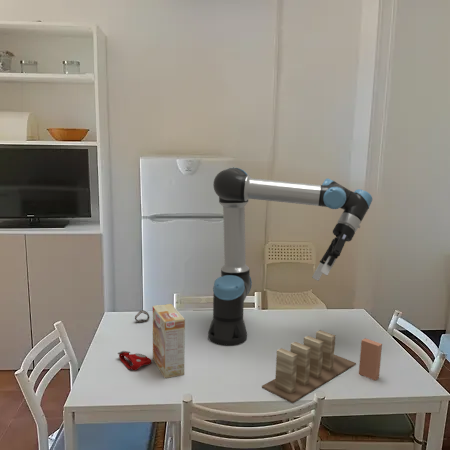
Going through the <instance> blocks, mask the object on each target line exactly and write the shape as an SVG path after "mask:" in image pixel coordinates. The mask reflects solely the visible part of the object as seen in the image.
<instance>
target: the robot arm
mask: <svg viewBox="0 0 450 450" xmlns="http://www.w3.org/2000/svg"><path fill="white" fill-rule="evenodd" d="M213 189H214V192H215V194H216V195H217V196H218V203H219V204H220V205H221V206H222V211H223V212H222V213H223V214H222V215H223V217H222V218H223V247H224V248H223V249H224V250H223V252H224V253H223V254H224V257H223V258H224V265H223V266H221V269H220V276H219V277H217V278H215V280H214V282H213V288H212V290H213V296H212V297H213V301H212V302H213V303H212V305H213V307H212V314H213V315H212V321H211V322H210V325H209V328H208V331H207V335H208V336H207V338H208V340H209V341H210V342H211V343H213V344H215V345H219V346H220V345H221V346H225V347H226V346H227V347H228V346H238V345H241V344H244V343H246V341H247V340H248V331H247V328H246V324H245V320H244V306H245V305H244V304H245V303H244V302H245V300H246V298H247V296H248V295H249V293H250V292H251V290H252V283H253V282H252V277H251V276H250V275H251V273H250V267H249V266H248V265H247V264H246V263H247V261H246V259H247V258H246V257H247V256H246V222H245V221H246V218H245V217H246V212H245V210H246V209H245V208H246V205H247V204H248V203H249V200H257V201H268V202H277V203H287V204H299V205H306V206H317V207H325V208H329V209H330V210H338V209H341V210H343V211H342V213H341V215H340V217H339V219H338V220H337V223H336V224H335V225H334V227H333V229H332V234H333V235H334V236H335V237H334V238H333V239H332V240H331V242H330V245H329V246H328V247H327V250H326V251H325V252H324V255H323V256H322V257H321V259H320V260H319V264H318V265H317V268H316V269H315V271H314V272H313V274H312V276H311V278H312V279H314V280H315V281H318V282H319V281H320V279H321V277H322V275H325V276H329V274H330V272H331V270H332V269H333V267H334V265H335V263H336V262H337V261H336V260H337V259H338V258H339V257H340V255H341V253H342V250H343V248H344V246H345V244H346V242H349V243H350V242H351V241H352V240H353V238H354V237H355V234H356V233H357V231H358V229H360V228H361V225H360V224H361V223H362V221H363V219H364V218H365V216H366V214H367V213H368V211H369V209H370V206H371V204H372V202H373V195H372V194H370V192H368V191H367V190H363V189H355V190H354V191H352V190H350V189H349V188H347V187H344V186H343V185H342V184H340V183H338V182H336V181H335V180H332V179H331V178H325V179H324V180H323V182H322V184H316V183H315V184H313V183H305V182H304V183H303V182H296V181H295V182H294V181H285V180H274V179H264V178H253V177H251V176H250V175H249V174H248V173H247V172H246V171H245V170H243V168H242V169H241V168H239V167H228V168H227V169H226V168H225V169H223V170H221V171H219V172H218V173H217V174H216V176H215V177H214V180H213Z"/></svg>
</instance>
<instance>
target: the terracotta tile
mask: <svg viewBox="0 0 450 450" xmlns="http://www.w3.org/2000/svg"><path fill="white" fill-rule="evenodd" d="M360 344H361V345H360V355H359V364H358V365H359V366H358V375H360V376H363V377H366V378H368V379H370V380H373V381H377V380H378V379H379V378H380V372H381V371H380V370H381V360H382V349H383V347H382V346H383V343H380V342H378V341H375V340H371V339H368V338H366V337H365V338H363V339H361V342H360Z"/></svg>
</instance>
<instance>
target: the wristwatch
mask: <svg viewBox="0 0 450 450" xmlns="http://www.w3.org/2000/svg"><path fill="white" fill-rule="evenodd" d="M141 314H144V315H146V316H147V318H146V319H144V320H143V319H142V320H140V319H137V318H138V317H139V316H140V315H141ZM134 320H135V321H136V322H137V323H140V324H142V323H147V322H148V321H149V320H150V314H149V312H148V311H146V310H144V309H141V310H139V311H138V313H137V314H136V315H135V316H134Z"/></svg>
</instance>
